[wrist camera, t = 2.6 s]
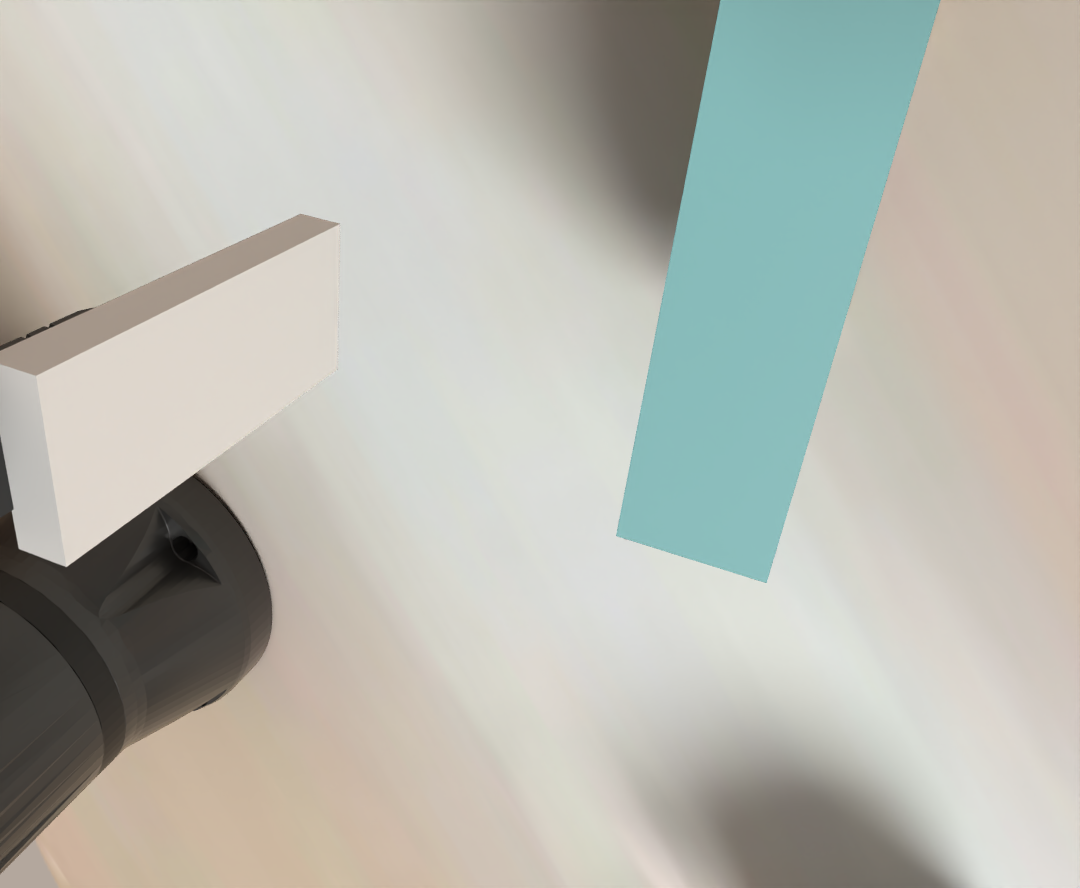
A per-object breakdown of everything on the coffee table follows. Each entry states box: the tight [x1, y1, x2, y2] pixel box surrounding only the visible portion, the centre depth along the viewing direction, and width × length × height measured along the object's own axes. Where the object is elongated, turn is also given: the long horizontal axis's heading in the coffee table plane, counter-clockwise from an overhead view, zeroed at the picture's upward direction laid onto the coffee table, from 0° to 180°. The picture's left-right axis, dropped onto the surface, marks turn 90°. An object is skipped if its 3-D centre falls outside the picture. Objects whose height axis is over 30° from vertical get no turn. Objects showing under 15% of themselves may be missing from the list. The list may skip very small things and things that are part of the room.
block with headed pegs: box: [616, 0, 940, 583], centre depth 26 cm, size 4×16×12 cm, turn 172°
